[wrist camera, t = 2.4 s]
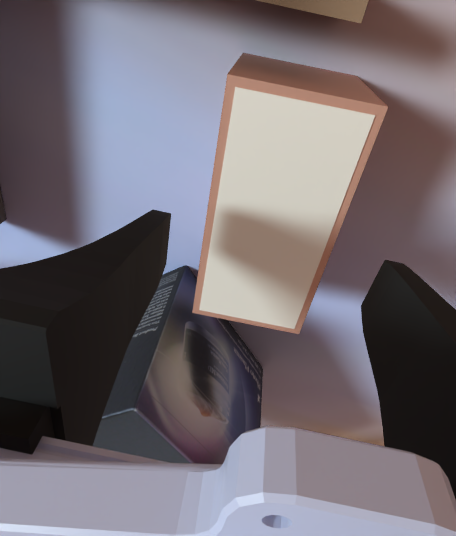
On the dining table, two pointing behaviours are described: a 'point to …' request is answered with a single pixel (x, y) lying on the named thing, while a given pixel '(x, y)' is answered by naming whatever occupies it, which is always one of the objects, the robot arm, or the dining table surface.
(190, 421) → the small box
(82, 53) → the dining table surface
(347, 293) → the dining table surface
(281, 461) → the robot arm
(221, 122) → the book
